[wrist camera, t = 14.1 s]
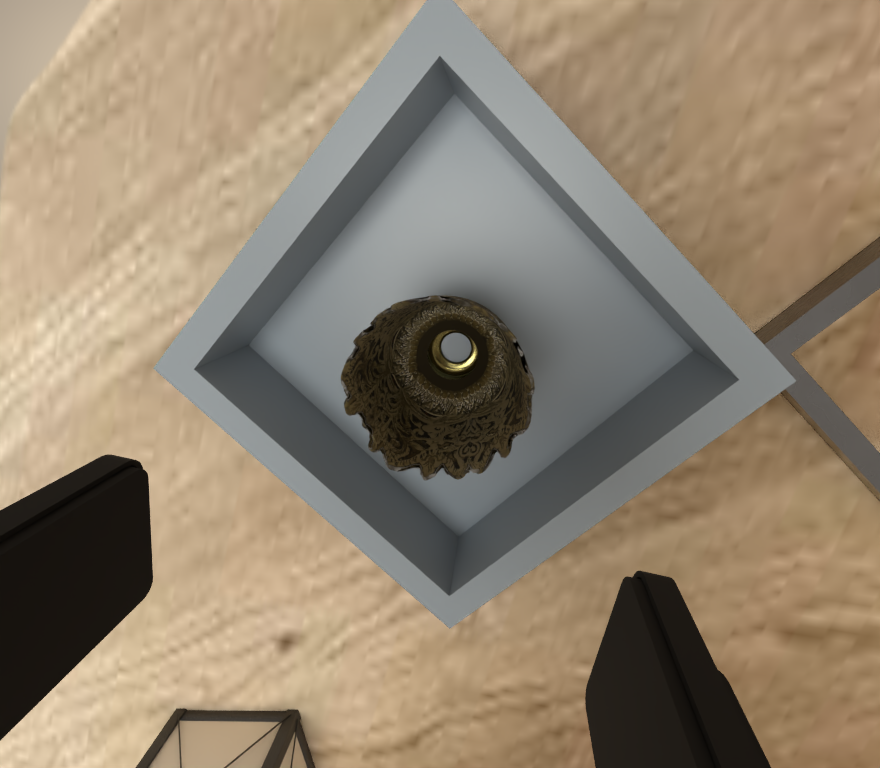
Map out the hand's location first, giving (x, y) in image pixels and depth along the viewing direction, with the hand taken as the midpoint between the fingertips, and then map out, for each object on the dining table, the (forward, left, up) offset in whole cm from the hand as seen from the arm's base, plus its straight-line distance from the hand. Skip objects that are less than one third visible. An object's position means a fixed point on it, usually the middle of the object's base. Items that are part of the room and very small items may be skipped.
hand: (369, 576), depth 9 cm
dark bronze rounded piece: (0, 0, -18) cm, 18 cm away
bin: (0, 0, -19) cm, 19 cm away
